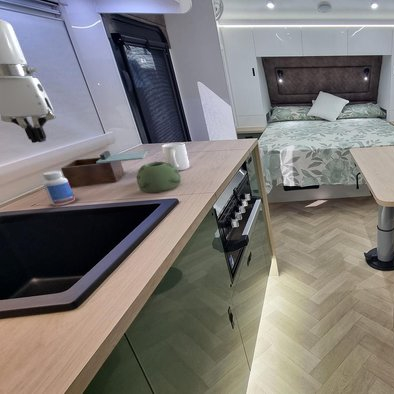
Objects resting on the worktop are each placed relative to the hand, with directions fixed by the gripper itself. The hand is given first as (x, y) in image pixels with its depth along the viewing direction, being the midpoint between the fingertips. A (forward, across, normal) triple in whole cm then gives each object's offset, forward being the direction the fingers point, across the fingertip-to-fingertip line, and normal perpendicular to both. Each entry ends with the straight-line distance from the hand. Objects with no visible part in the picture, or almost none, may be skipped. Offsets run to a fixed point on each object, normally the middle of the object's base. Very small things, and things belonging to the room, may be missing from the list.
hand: (39, 141), depth 83 cm
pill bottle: (+19, 0, 0) cm, 19 cm away
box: (+19, -3, -23) cm, 30 cm away
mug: (+19, -30, -24) cm, 43 cm away
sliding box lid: (+11, -13, -23) cm, 29 cm away
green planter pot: (+19, -26, -3) cm, 32 cm away
